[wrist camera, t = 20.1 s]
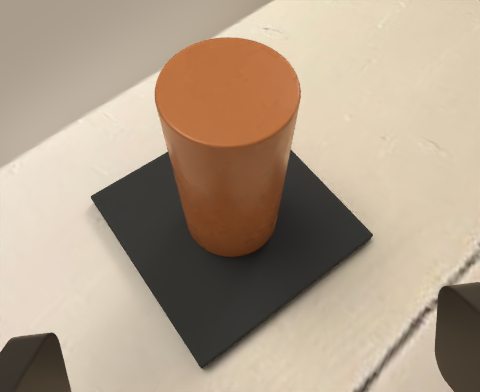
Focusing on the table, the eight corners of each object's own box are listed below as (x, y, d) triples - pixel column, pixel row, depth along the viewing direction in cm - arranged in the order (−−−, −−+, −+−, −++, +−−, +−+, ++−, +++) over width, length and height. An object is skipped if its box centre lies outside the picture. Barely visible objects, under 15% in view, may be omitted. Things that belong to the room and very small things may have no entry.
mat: (202, 369, 16) (201, 368, 15) (93, 201, 19) (89, 196, 19) (370, 239, 18) (373, 234, 18) (247, 111, 22) (248, 104, 21)
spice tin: (221, 276, 17) (209, 174, 10) (169, 206, 19) (127, 75, 12) (295, 223, 18) (331, 99, 11) (240, 161, 20) (242, 18, 13)
